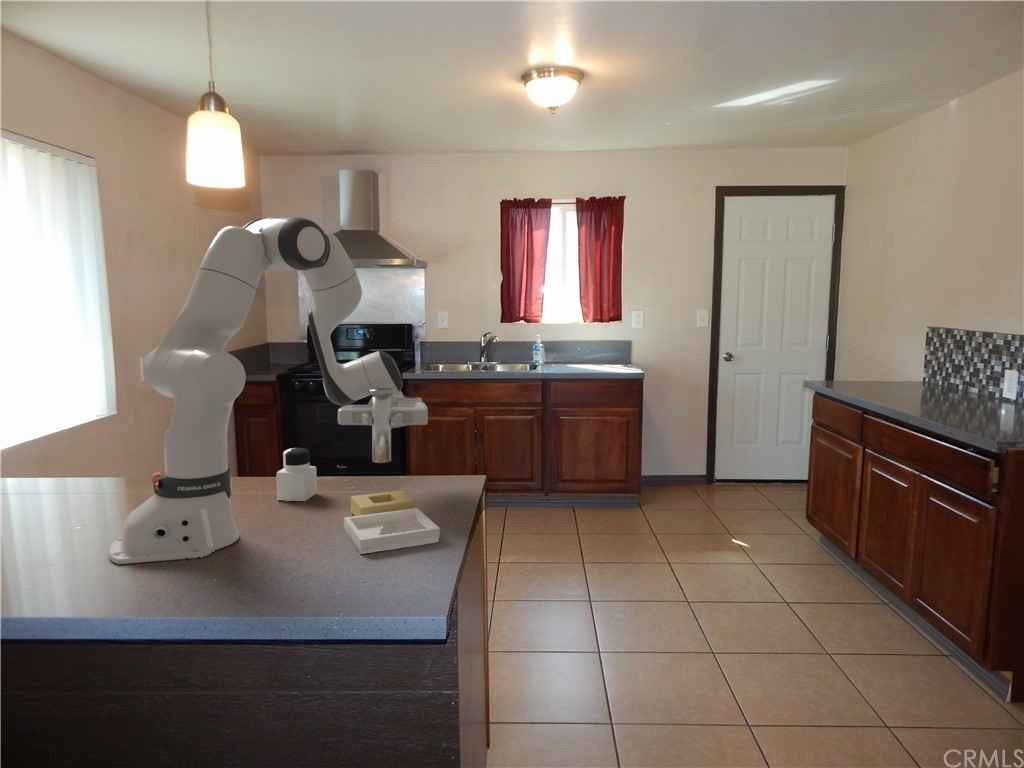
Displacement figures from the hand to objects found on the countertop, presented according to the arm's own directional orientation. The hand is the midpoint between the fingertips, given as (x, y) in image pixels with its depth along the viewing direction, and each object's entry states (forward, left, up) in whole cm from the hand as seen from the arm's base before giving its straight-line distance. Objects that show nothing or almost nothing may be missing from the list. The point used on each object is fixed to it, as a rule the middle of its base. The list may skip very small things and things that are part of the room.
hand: (381, 421), depth 143 cm
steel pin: (0, +1, -9) cm, 9 cm away
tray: (-2, -12, -22) cm, 25 cm away
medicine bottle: (-15, +23, -22) cm, 35 cm away
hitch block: (0, +1, -22) cm, 22 cm away
